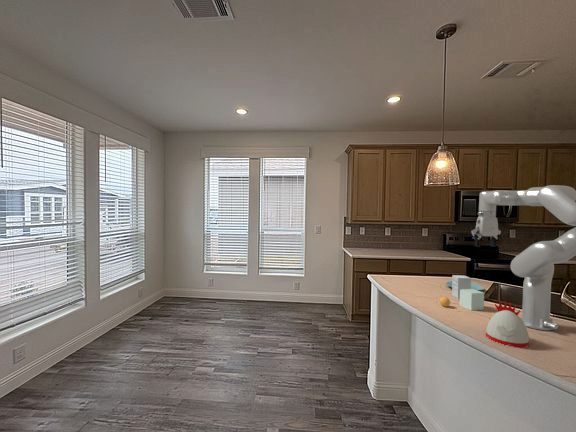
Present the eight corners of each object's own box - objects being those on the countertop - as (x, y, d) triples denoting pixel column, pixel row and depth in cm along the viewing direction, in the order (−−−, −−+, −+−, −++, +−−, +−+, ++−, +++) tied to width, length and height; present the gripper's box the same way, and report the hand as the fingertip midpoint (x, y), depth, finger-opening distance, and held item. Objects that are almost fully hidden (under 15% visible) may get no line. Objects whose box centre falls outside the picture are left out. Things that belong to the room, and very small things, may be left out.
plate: (492, 294, 183) (492, 290, 183) (455, 293, 184) (455, 288, 184) (472, 285, 205) (472, 281, 205) (439, 284, 206) (439, 280, 206)
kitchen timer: (487, 329, 127) (488, 295, 126) (529, 338, 118) (530, 301, 118) (484, 340, 116) (485, 302, 116) (529, 351, 107) (530, 310, 107)
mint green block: (483, 309, 153) (484, 292, 153) (471, 310, 151) (471, 293, 151) (471, 304, 160) (472, 288, 160) (459, 305, 159) (460, 289, 159)
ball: (452, 307, 155) (452, 298, 155) (444, 308, 154) (444, 298, 154) (445, 304, 160) (445, 295, 160) (437, 305, 159) (437, 296, 159)
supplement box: (464, 296, 178) (464, 275, 177) (470, 299, 170) (471, 278, 170) (451, 295, 178) (452, 274, 178) (457, 299, 171) (457, 277, 171)
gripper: (478, 214, 150) (477, 247, 150) (507, 215, 153) (505, 247, 154) (467, 214, 157) (465, 245, 158) (494, 214, 160) (493, 245, 161)
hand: (485, 246), depth 156 cm, fingers open, 9 cm apart
